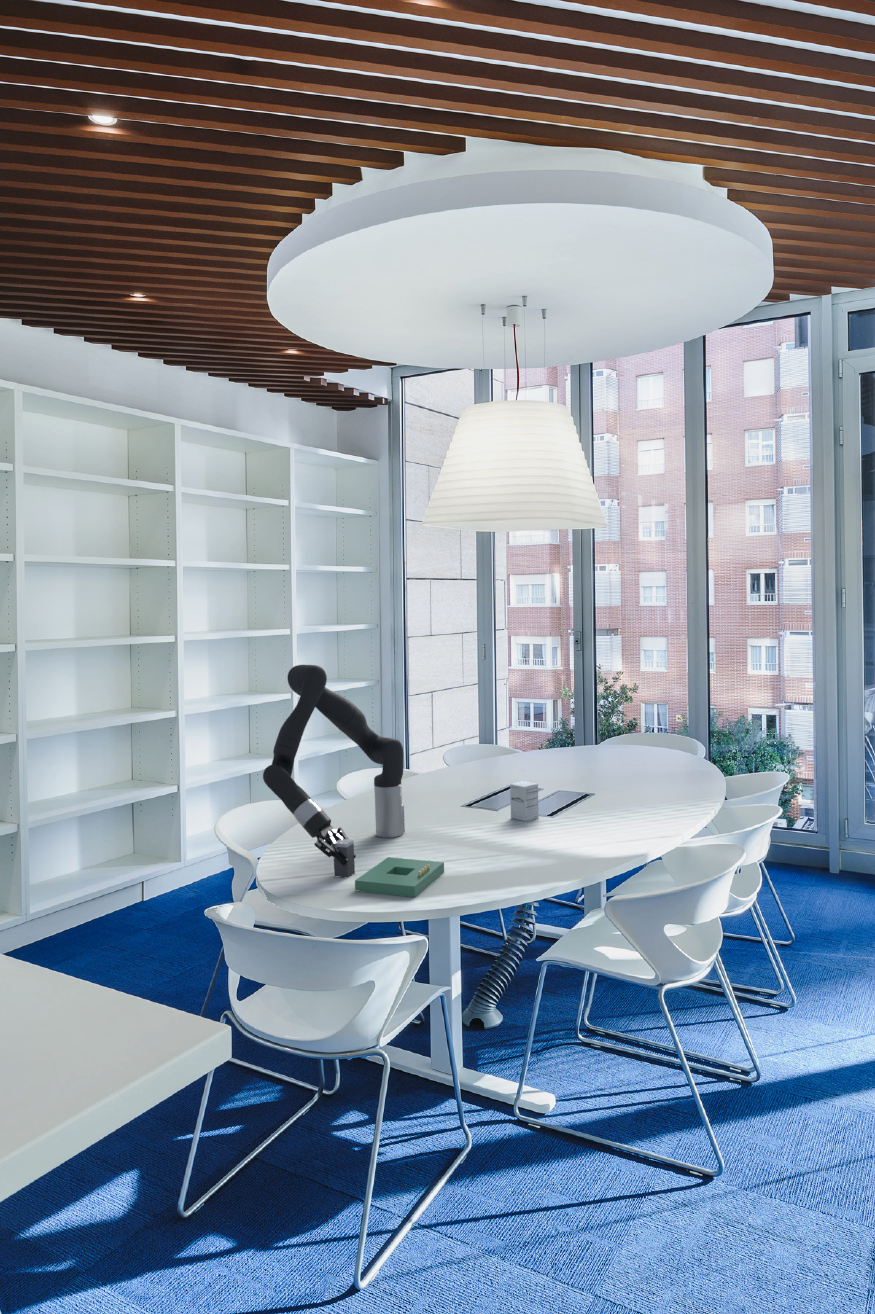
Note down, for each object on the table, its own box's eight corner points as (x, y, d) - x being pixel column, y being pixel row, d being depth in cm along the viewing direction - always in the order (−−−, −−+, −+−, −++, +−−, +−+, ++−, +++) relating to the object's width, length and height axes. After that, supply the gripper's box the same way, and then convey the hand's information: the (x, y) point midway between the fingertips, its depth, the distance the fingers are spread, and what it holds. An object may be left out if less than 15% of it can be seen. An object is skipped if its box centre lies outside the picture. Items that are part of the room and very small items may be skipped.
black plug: (341, 871, 260) (340, 838, 260) (354, 873, 259) (353, 839, 258) (334, 876, 256) (333, 842, 255) (347, 877, 255) (346, 844, 254)
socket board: (388, 866, 263) (387, 852, 263) (444, 872, 257) (443, 857, 256) (355, 890, 243) (354, 875, 243) (414, 897, 236) (414, 880, 236)
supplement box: (510, 818, 315) (509, 783, 314) (524, 814, 320) (523, 780, 319) (525, 822, 309) (524, 786, 308) (539, 817, 314) (538, 783, 313)
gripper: (307, 815, 252) (346, 860, 249) (331, 803, 265) (368, 846, 262) (292, 832, 254) (330, 876, 251) (316, 819, 268) (353, 861, 264)
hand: (349, 860), depth 256 cm, fingers closed on black plug, 4 cm apart
